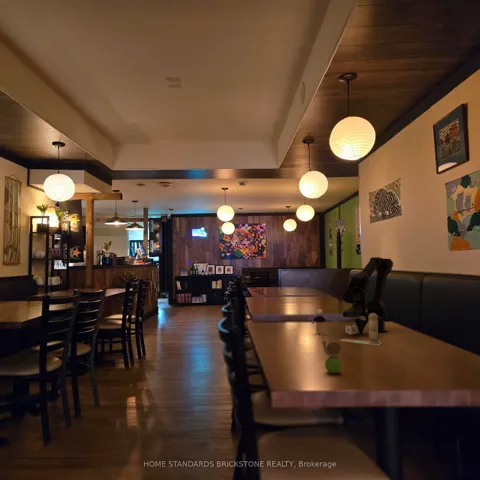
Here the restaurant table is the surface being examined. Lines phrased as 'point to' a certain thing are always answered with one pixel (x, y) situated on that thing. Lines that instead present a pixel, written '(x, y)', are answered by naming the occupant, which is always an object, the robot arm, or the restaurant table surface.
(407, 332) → the restaurant table surface
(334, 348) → the snail figurine
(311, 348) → the restaurant table surface
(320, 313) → the grandmother figurine
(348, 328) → the die
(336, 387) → the restaurant table surface
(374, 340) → the pawn
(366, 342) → the board
